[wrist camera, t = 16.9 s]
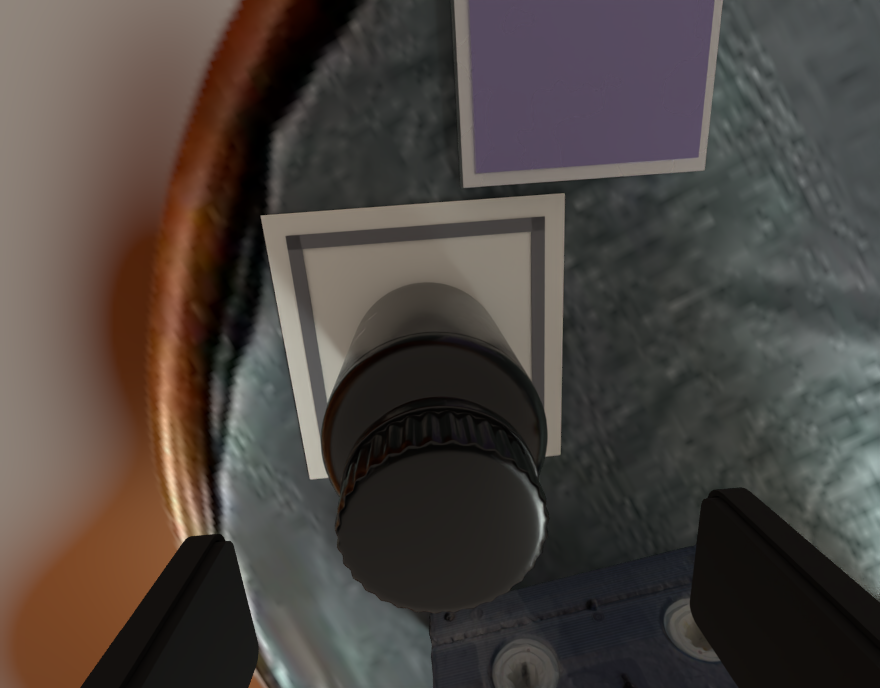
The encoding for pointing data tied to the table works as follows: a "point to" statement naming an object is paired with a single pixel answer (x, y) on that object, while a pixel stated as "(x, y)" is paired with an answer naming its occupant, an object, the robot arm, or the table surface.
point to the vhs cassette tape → (583, 633)
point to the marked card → (416, 261)
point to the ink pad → (582, 88)
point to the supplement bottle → (435, 454)
